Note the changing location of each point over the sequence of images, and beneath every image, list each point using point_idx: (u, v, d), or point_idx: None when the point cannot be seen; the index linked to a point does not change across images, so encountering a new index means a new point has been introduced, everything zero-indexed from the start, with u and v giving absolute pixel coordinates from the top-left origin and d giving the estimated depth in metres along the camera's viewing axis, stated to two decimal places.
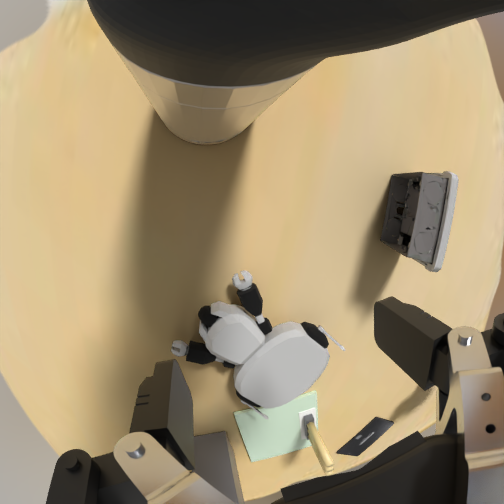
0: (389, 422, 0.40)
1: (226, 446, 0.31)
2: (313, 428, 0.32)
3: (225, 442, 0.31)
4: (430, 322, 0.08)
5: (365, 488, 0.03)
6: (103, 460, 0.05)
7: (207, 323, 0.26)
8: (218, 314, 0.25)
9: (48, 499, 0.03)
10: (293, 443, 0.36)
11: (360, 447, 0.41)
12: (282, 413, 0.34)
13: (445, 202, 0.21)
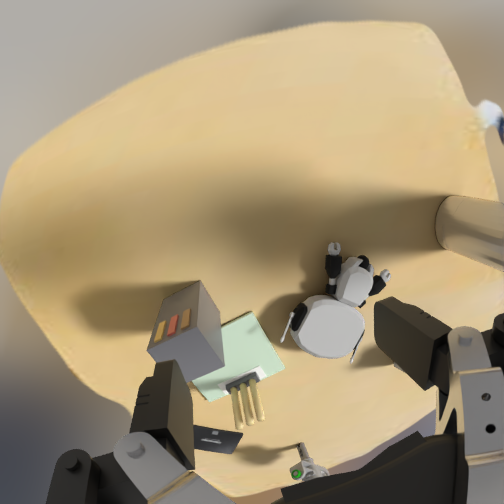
0: (233, 449, 0.44)
1: (219, 320, 0.34)
2: (256, 385, 0.37)
3: (219, 317, 0.35)
4: (430, 322, 0.08)
5: (365, 488, 0.03)
6: (103, 460, 0.05)
7: (363, 264, 0.35)
8: (371, 269, 0.35)
9: (48, 499, 0.03)
10: (209, 380, 0.39)
11: (196, 442, 0.42)
12: (258, 352, 0.39)
13: None
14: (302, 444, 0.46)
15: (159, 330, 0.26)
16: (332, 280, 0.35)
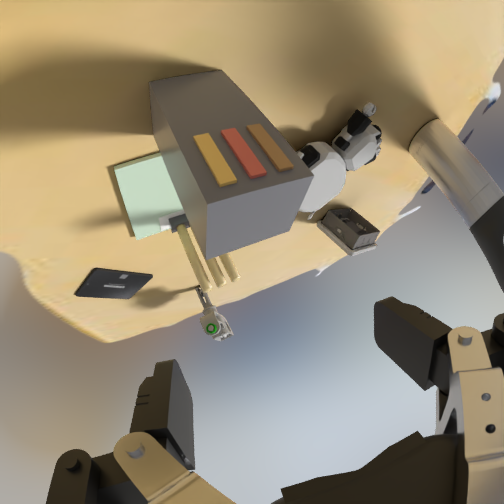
0: (134, 293, 0.41)
1: None
2: None
3: None
4: (430, 322, 0.08)
5: (365, 488, 0.03)
6: (103, 460, 0.05)
7: (378, 136, 0.30)
8: (379, 143, 0.31)
9: (48, 499, 0.03)
10: (152, 211, 0.28)
11: (97, 289, 0.35)
12: None
13: (369, 245, 0.49)
14: None
15: (212, 155, 0.13)
16: (349, 137, 0.28)
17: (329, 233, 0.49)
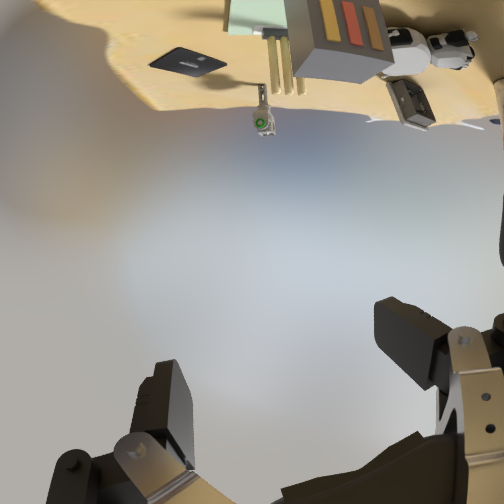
0: (203, 74, 0.40)
1: None
2: None
3: None
4: (430, 322, 0.08)
5: (365, 488, 0.03)
6: (103, 460, 0.05)
7: (469, 57, 0.20)
8: (467, 62, 0.22)
9: (48, 499, 0.03)
10: (251, 19, 0.24)
11: (172, 64, 0.34)
12: None
13: (421, 126, 0.44)
14: (265, 86, 0.48)
15: (329, 17, 0.12)
16: (444, 43, 0.20)
17: (393, 96, 0.42)
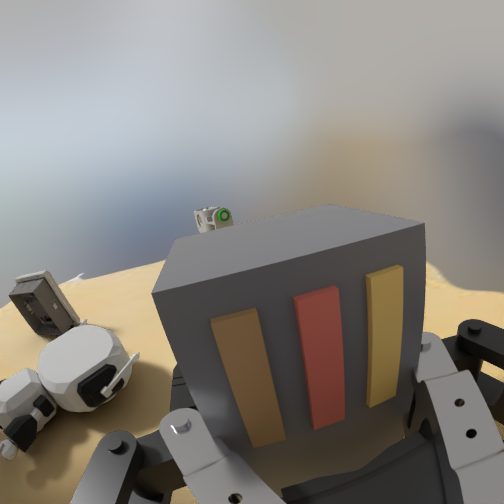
0: None
1: None
2: None
3: None
4: None
5: (365, 488, 0.03)
6: (145, 441, 0.06)
7: None
8: None
9: (83, 478, 0.04)
10: None
11: None
12: None
13: (23, 280, 0.31)
14: None
15: (389, 347, 0.06)
16: (33, 413, 0.13)
17: (66, 305, 0.32)
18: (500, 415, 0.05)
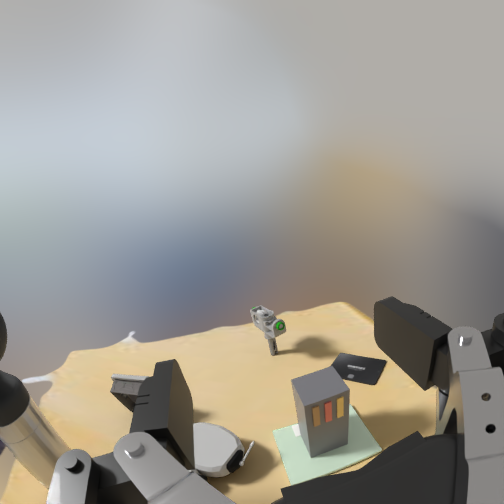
0: (337, 358, 0.52)
1: None
2: None
3: (299, 427, 0.35)
4: (430, 322, 0.08)
5: (365, 488, 0.03)
6: (103, 460, 0.05)
7: None
8: None
9: (48, 499, 0.03)
10: None
11: (370, 365, 0.47)
12: (294, 449, 0.33)
13: (122, 379, 0.44)
14: (272, 353, 0.58)
15: (340, 408, 0.29)
16: None
17: None
18: None
